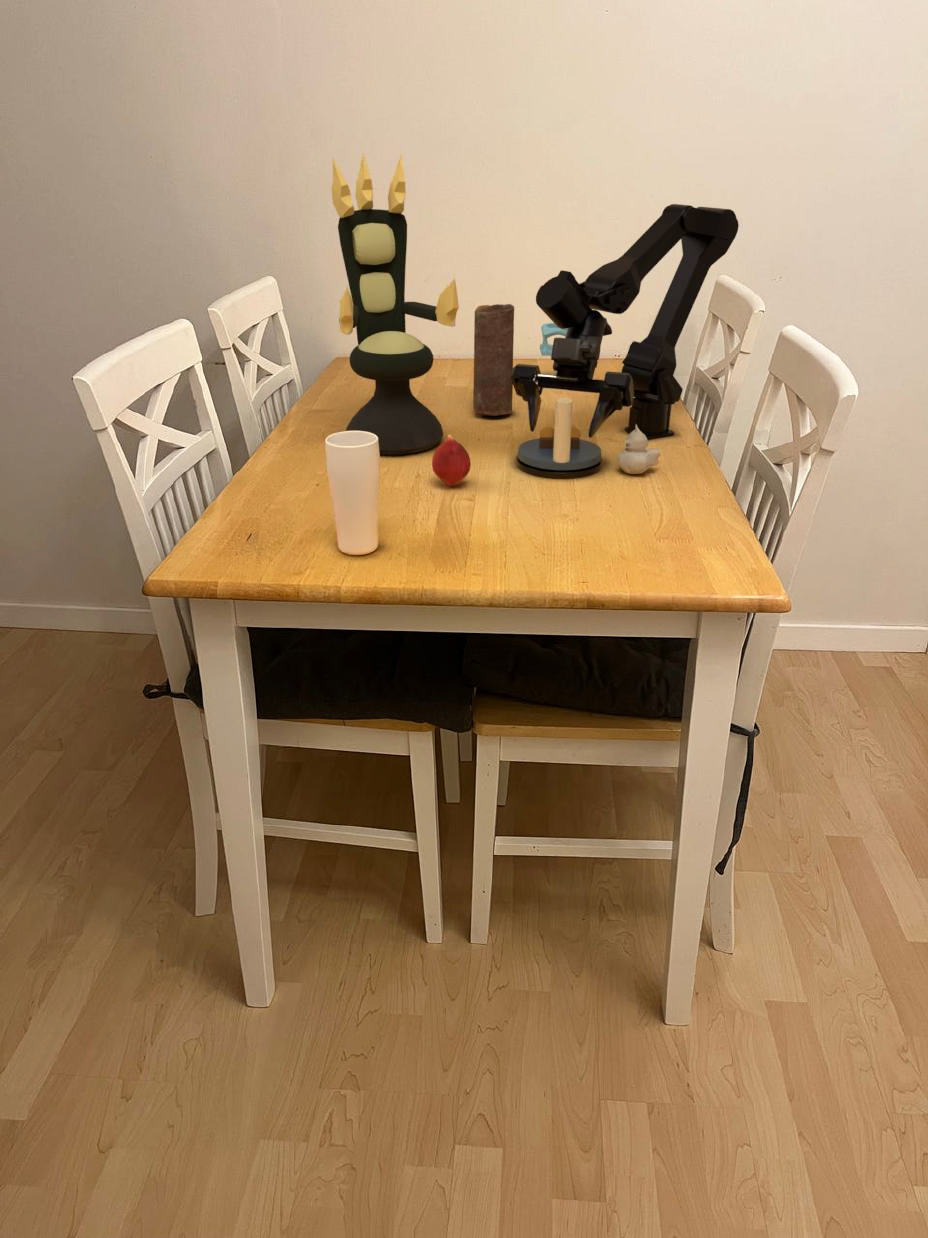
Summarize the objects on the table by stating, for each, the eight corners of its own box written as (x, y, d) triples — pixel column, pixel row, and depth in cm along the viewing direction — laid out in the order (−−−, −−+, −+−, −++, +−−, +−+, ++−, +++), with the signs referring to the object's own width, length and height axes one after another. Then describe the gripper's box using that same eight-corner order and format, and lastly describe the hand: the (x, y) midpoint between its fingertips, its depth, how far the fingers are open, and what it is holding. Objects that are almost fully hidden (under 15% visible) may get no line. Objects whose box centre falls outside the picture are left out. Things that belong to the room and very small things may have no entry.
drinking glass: (333, 539, 129) (325, 430, 122) (383, 537, 130) (378, 429, 123) (331, 560, 123) (323, 447, 116) (384, 558, 124) (379, 445, 117)
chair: (576, 386, 199) (579, 327, 193) (536, 386, 199) (538, 327, 193) (573, 377, 206) (576, 319, 200) (534, 377, 206) (536, 319, 200)
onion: (475, 481, 149) (475, 431, 145) (463, 494, 144) (463, 442, 140) (440, 477, 151) (439, 428, 147) (426, 490, 146) (425, 438, 142)
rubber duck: (614, 467, 155) (617, 418, 151) (654, 466, 155) (659, 418, 151) (619, 478, 150) (623, 428, 146) (661, 478, 150) (666, 428, 146)
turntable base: (573, 446, 164) (573, 440, 164) (619, 470, 153) (619, 464, 153) (500, 457, 159) (500, 451, 159) (542, 484, 148) (543, 478, 148)
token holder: (517, 443, 162) (519, 379, 157) (597, 443, 161) (601, 380, 156) (518, 469, 150) (520, 402, 145) (604, 470, 149) (609, 402, 144)
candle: (508, 422, 177) (510, 309, 167) (469, 420, 178) (469, 308, 169) (515, 410, 183) (517, 302, 174) (477, 408, 185) (477, 300, 175)
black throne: (353, 465, 156) (335, 157, 135) (320, 427, 174) (299, 151, 153) (462, 451, 162) (460, 155, 141) (418, 416, 180) (411, 149, 159)
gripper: (515, 310, 147) (491, 400, 143) (637, 318, 141) (615, 412, 137) (528, 351, 157) (506, 436, 153) (642, 361, 151) (622, 449, 147)
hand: (560, 433), depth 147 cm, fingers open, 9 cm apart
